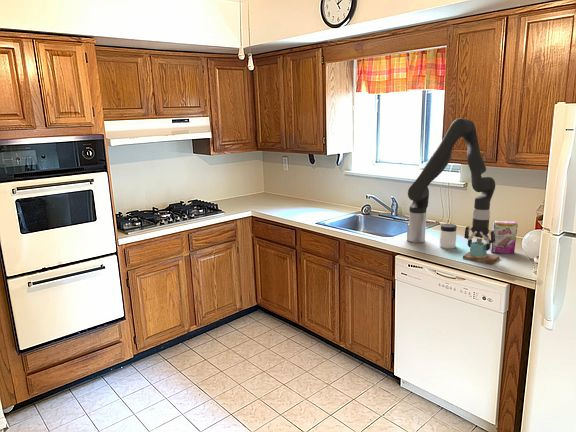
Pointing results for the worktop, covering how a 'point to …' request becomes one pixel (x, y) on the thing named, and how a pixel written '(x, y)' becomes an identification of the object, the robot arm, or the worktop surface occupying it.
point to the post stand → (486, 259)
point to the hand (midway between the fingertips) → (478, 248)
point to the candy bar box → (504, 237)
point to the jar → (448, 236)
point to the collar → (478, 249)
